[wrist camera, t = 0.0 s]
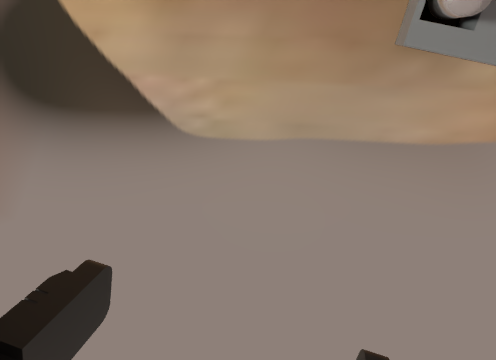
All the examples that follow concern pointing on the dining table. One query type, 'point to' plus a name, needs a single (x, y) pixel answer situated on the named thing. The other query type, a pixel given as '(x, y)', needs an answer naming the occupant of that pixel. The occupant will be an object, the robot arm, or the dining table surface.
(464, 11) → the plunger
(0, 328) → the robot arm
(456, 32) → the housing
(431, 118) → the dining table surface
